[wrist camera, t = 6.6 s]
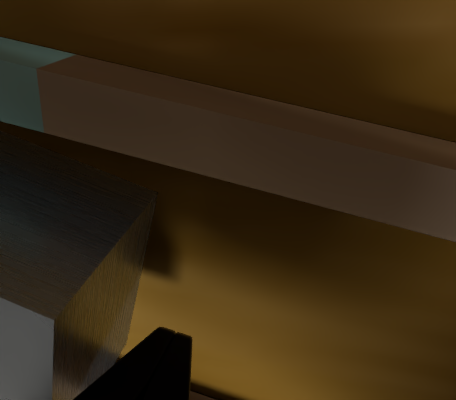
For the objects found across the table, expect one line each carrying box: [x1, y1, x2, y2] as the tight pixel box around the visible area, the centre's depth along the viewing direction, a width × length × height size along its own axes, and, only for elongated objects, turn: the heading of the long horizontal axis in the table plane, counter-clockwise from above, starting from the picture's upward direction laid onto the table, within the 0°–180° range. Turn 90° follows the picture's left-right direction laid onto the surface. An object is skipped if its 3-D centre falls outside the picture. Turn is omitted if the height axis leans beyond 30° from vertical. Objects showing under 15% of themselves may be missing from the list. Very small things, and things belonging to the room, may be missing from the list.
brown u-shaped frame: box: [0, 37, 456, 400], centre depth 9 cm, size 11×20×3 cm, turn 81°
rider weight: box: [0, 130, 158, 400], centre depth 9 cm, size 6×5×4 cm
